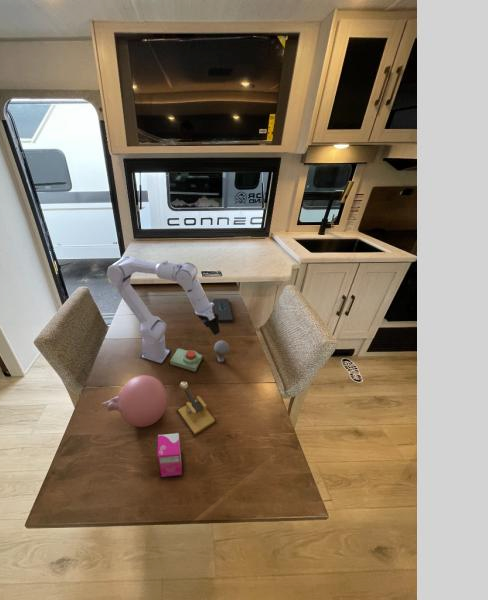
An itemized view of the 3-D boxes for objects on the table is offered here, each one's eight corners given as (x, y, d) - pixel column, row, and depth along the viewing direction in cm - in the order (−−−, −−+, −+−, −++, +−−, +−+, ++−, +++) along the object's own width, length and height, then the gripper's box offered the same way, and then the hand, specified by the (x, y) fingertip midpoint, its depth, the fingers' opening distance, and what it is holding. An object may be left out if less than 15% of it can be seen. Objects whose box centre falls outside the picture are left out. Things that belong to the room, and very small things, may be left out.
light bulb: (227, 366, 107) (229, 348, 102) (212, 364, 108) (213, 346, 103) (228, 356, 112) (230, 338, 106) (214, 354, 113) (215, 336, 108)
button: (184, 358, 106) (184, 355, 105) (188, 352, 109) (188, 349, 108) (193, 360, 105) (193, 357, 104) (196, 354, 108) (196, 351, 107)
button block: (170, 364, 108) (169, 357, 106) (178, 351, 114) (178, 344, 112) (195, 372, 104) (195, 365, 102) (202, 358, 111) (202, 351, 109)
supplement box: (160, 456, 77) (158, 433, 71) (180, 454, 78) (180, 432, 71) (160, 478, 72) (157, 456, 66) (182, 476, 73) (181, 454, 67)
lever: (177, 385, 90) (178, 382, 88) (184, 381, 91) (186, 378, 89) (193, 415, 85) (195, 412, 83) (201, 410, 86) (203, 407, 84)
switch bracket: (178, 411, 90) (177, 398, 86) (197, 400, 93) (197, 387, 90) (194, 435, 83) (194, 422, 79) (214, 422, 86) (215, 409, 83)
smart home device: (228, 298, 148) (233, 319, 131) (227, 300, 149) (233, 322, 132) (213, 298, 148) (216, 319, 131) (213, 300, 149) (216, 322, 132)
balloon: (109, 401, 93) (101, 370, 85) (166, 392, 96) (163, 362, 88) (105, 443, 80) (95, 412, 72) (170, 432, 83) (168, 401, 75)
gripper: (215, 296, 84) (231, 331, 89) (201, 287, 97) (215, 317, 102) (196, 307, 83) (213, 341, 88) (184, 297, 96) (199, 326, 101)
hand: (213, 329), depth 95 cm, fingers open, 7 cm apart
